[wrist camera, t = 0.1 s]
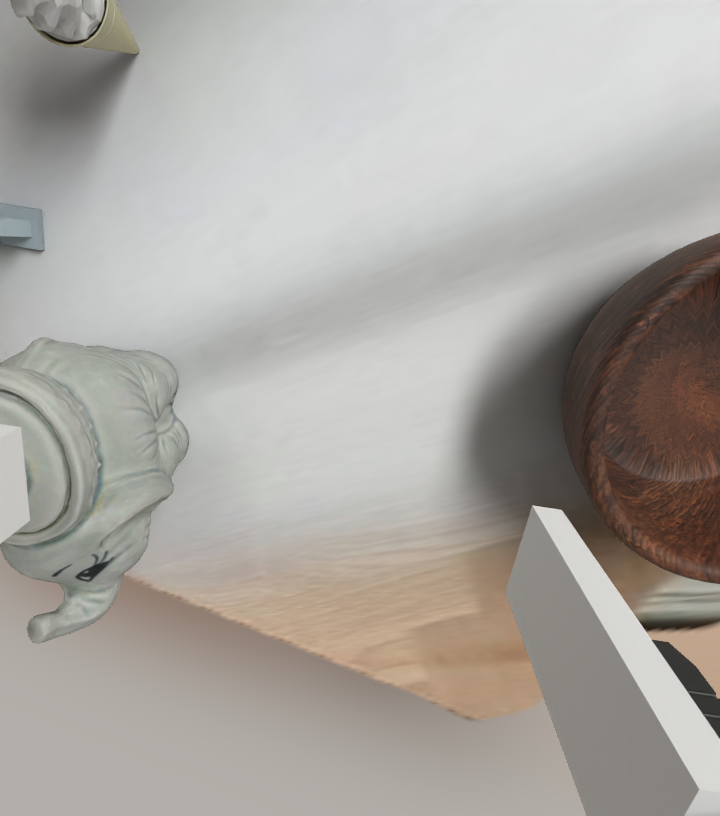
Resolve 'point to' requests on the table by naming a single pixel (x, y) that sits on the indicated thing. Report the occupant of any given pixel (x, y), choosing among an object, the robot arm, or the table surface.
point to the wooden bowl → (654, 412)
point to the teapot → (88, 468)
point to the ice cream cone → (79, 23)
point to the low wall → (21, 227)
